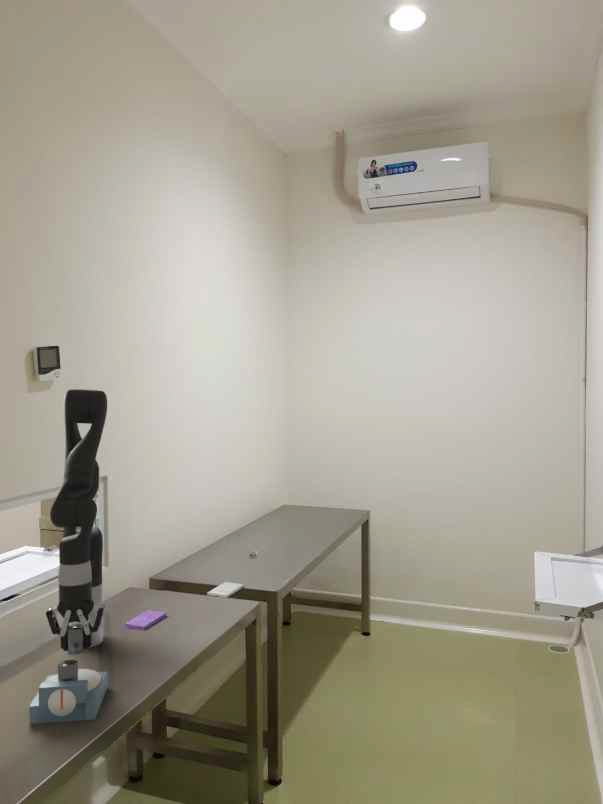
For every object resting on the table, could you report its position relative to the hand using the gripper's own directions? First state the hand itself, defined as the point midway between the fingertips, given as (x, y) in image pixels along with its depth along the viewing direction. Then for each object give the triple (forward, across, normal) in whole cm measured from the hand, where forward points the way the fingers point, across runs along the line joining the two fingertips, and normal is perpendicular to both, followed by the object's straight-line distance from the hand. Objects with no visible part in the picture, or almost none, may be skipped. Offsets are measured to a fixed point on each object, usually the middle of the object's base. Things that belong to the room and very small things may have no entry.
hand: (76, 648), depth 152 cm
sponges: (+11, -11, -44) cm, 47 cm away
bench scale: (+11, 0, +6) cm, 12 cm away
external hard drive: (+11, -36, -70) cm, 80 cm away
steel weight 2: (+6, 0, +8) cm, 10 cm away
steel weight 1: (+1, 0, 0) cm, 1 cm away
